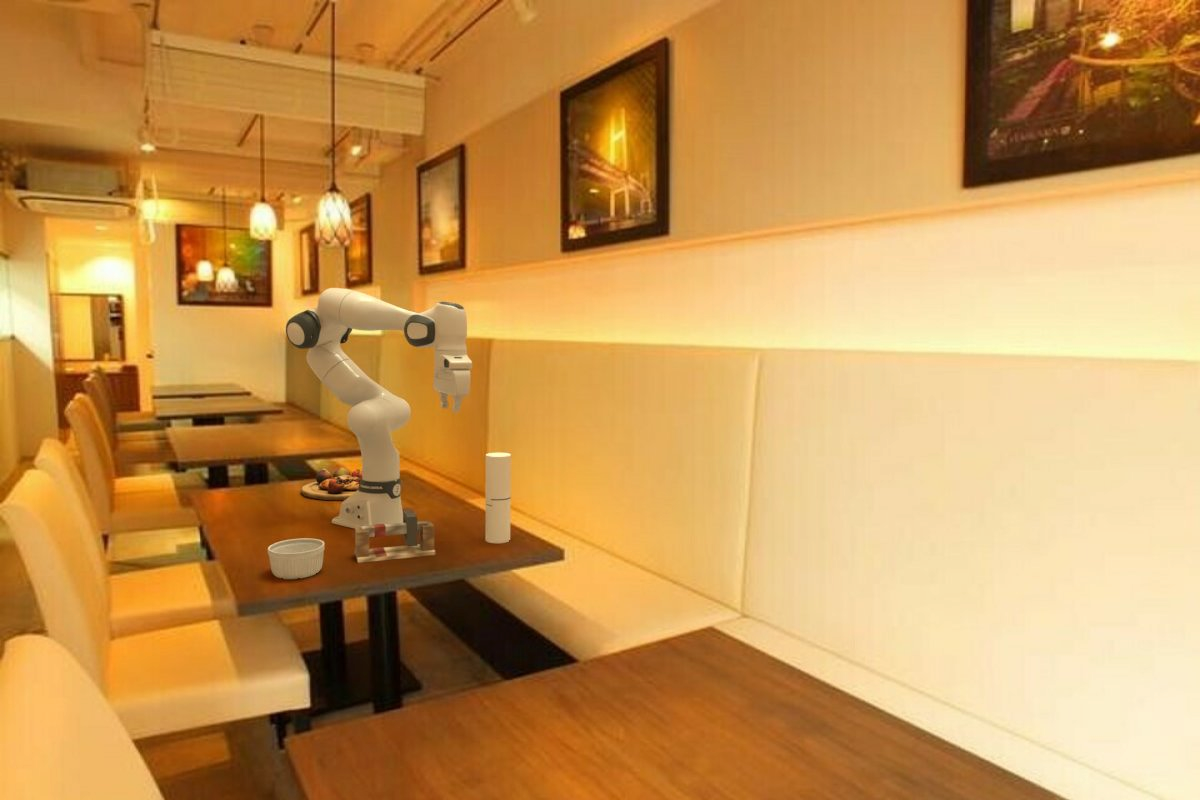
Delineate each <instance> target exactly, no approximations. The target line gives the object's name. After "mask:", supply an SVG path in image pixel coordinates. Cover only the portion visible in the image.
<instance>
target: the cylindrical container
mask: <svg viewBox="0 0 1200 800" xmlns="http://www.w3.org/2000/svg"><path fill="white" fill-rule="evenodd" d="M511 458H512V454H511V453H508V452H488V453H486V454H485V534H484V535H485V542H487V543H489V544H505V543H508V542H510V541H511V506H512V505H511V500H512V499H511V498H512V497H511V495H512V494H511V493H512V492H511V491H512V490H511V487H512V486H511V485H512V483H511V481H512V479H511V475H512V474H511V473H512V471H511V469H512V463H511V462H512V459H511ZM509 540H510V541H509Z"/></svg>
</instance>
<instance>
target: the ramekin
mask: <svg viewBox="0 0 1200 800" xmlns="http://www.w3.org/2000/svg"><path fill="white" fill-rule="evenodd" d="M325 544H326V543H325V541H324V540H322V539H317V538H307V537H304V538H302V537H301V538H293V539H286V540H281V541H277V542H275V543H273V544H271V545H268V547H267V555H268V558H269V564H270V569H271V573H272V574H273V575H274V576H275V577H276V578H277V579H278V578H279V579H281V578H283V579H284V580H297V579H298V578H300V579H304V578H309V577H312V576H314V575H317V574H318V573H319V572H320V571H321V570H322V567H323V563H324V553H325V552H324V551H325V548H326V547H325V546H326V545H325ZM316 573H317V574H316ZM283 579H282V580H283Z"/></svg>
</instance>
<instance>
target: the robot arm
mask: <svg viewBox="0 0 1200 800" xmlns="http://www.w3.org/2000/svg"><path fill="white" fill-rule="evenodd" d="M352 330H355V331H356V330H357V331H367V332H368V331H370V332H371V331H373V332H374V331H388V330H389V331H390V330H391V331H393V330H395V331H396V330H397V331H403V333H404V337H405V340H406V342H407V343H408V344H409V345H411V346H412V347H414V348H420V349H423V348H424V349H426V348H427V349H431V348H433V349H434V370H433V383H432V385H433V390H434V392H438V393H439V394H438V395H439V400H440V407H441V409H444V410H445V409H449V406H450V405H449V404H450V403H449V400H448V395H450V396H452V397H453V398H452V399H453V405H452V406H451V407H452V410H451V411H452V412H453V413H460V412H461V405H462V402H463V398H467V397H469V395H470V390H471V375H472V374H471V371H470V370H472V368H473V361H472V360H471V358H470V357H469V355H468V348H467V344H466V341H467V338H468V337H467V336H468V321H467V312H466V309H465V307H464V306H463V305H462V304H458V303H455V302H448V301H439V302H437V303H436V304H435V305H434V306H433V307H431V308H430V309H427V310H425V311H422V312H417V311H414V310H413V311H412V310H410V309H409V310H408V309H407V308H402V307H398V305H397V306H396V305H394V304H391V303H389V302H386V301H384V300H382V299H379V298H377V297H374V296H372V295H370V294H368V293H364V292H360V291H357V290H354V289H349V288H342V287H341V288H340V287H329V288H326V289H325V290H323V291H322V293H320V295H319V297H318V300H317V306H316V307H314V308H312V309H306V310H304V311H302V312H299V313H296V314H295V315H293V316H292V317H290V319H288V321H287V322H286V326H285V334H286V337H287V339H288V341H289V342H290V344H291V345H292V346H293V347H295V348H297V349H301V350H303V349H304V350H305V349H308V351H307V353H306V363H307V364H308V366H309V367H310V368H311V371H312V372H313V373H314V375H316V377H317V378H318V379H319V380H320V382H322V384H323V385H324V386H325V388H327V389H328V390H329V391H330V392H331V393H332V394H333V395H334V396H335V398H337V399H338V400H339V402H341V403H343V404H345V405H348V406H350V407H351V409H349V411H348V413H347V417H346V419H347V420H346V421H347V426H348V428H349V430H350V431H351V432H352V433H353V434H354V435H355V437H356V439H357V442H358V445H359V449H360V453H361V455H360V456H361V469H362V470H361V471H362V479H360V480H358V481H355V482H358V483H356V484H355V485H357V484H359V486H358V490H357V491H356V492H355V493H353V494H352V495H351V496H350V497H348V498H347V499H346V500H342V503H341V504H340V508H339V515H338V516H335V517H333V518H332V519H331V523H332V524H335V525H338V526H343V527H346V528H350V529H354V530H355V528H359V527H361V526H372V525H376V524H396V523H403V505H402V499H401V498H402V497H401V494H402V493H401V492H402V478H401V476H400V471H401V470H400V452H399V449H397V448H396V447H395V445H394V441H393V439H392V432H395V431H397V430H399V429H401V428H403V427H404V426H406V425H407V423H408V422H409V421H410V420H411V416H412V411H411V406H410V405H409V403H408V402H407V401H406V400H405V399H404V398H402V397H400V396H398V395H395V394H393V393H392V392H390V391H388V390H387V389H386V388H384V387H383V386H381V385H380V384H378V383H377V382H376V381H374V380H373V379H372V378H370V376H368V375H367V374H366V372H364V371H363V370H362V369H361V368H360V367H359V366H358V365H357V364H356V363H355V362H354V361H353V359H351V358H350V357H349V355H347V354H346V353H345V352H344V351H343V349H342V347H341V345H342V344H345V343H347V341H348V339H349V336H350V334H351V333H352Z"/></svg>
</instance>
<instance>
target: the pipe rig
mask: <svg viewBox="0 0 1200 800" xmlns="http://www.w3.org/2000/svg"><path fill="white" fill-rule="evenodd" d="M418 533H419V544H418V543H417V546H411V547H408V546H407V544H405V545H398V546H396V545H395V546H387V547H385V546H384V547H383V546H382V547H381V546H380V547H373V548H370V538H372V537H374V538H380V537H387V536H396V535H403V534H407V523H396V524H376V525H372V526H361V527H359V528H355V529H354V536H355V537H354V539H355V540H354V541H355V542H354V543H355V544H354V546H355V547H354V548H355V550H354V556H355V559H356V561H357V563H358V564H359V563H360V564H361V563H368V562H369V563H371V562H378V561H388V560H399V559H407V558H409V559H410V558H419V557H427V556H436V550H435V525H434V523H432V521H427V520H422V521H419V520H418V521H417V534H418Z"/></svg>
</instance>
